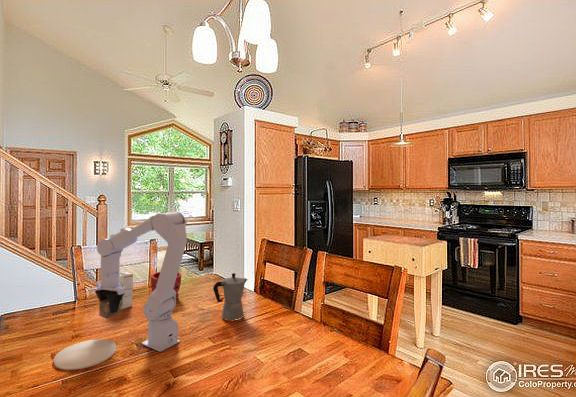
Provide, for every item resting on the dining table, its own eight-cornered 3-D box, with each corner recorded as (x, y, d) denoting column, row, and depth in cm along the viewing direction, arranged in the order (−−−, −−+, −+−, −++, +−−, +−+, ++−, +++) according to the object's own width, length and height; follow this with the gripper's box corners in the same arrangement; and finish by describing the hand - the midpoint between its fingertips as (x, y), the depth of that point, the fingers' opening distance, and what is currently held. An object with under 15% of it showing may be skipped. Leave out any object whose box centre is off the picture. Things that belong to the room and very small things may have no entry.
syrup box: (111, 307, 133) (112, 274, 133) (124, 303, 138) (125, 271, 138) (120, 310, 131) (120, 276, 130) (133, 305, 136) (133, 273, 135)
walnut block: (119, 314, 110) (120, 300, 110) (106, 318, 106) (106, 304, 106) (112, 311, 112) (112, 297, 112) (99, 315, 108) (99, 301, 108)
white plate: (126, 351, 98) (126, 347, 98) (71, 376, 84) (71, 372, 84) (98, 337, 106) (98, 335, 106) (43, 359, 92) (43, 355, 92)
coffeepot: (240, 309, 135) (241, 268, 134) (252, 316, 127) (253, 273, 127) (207, 318, 125) (208, 273, 125) (218, 326, 118) (219, 279, 117)
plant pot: (144, 302, 140) (144, 276, 140) (163, 293, 153) (164, 269, 152) (168, 306, 136) (168, 279, 136) (186, 297, 149) (187, 272, 148)
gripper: (86, 271, 109) (86, 309, 109) (110, 278, 102) (110, 319, 102) (107, 267, 115) (106, 303, 115) (130, 273, 108) (130, 312, 108)
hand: (109, 310), depth 109 cm, fingers closed on walnut block, 5 cm apart
